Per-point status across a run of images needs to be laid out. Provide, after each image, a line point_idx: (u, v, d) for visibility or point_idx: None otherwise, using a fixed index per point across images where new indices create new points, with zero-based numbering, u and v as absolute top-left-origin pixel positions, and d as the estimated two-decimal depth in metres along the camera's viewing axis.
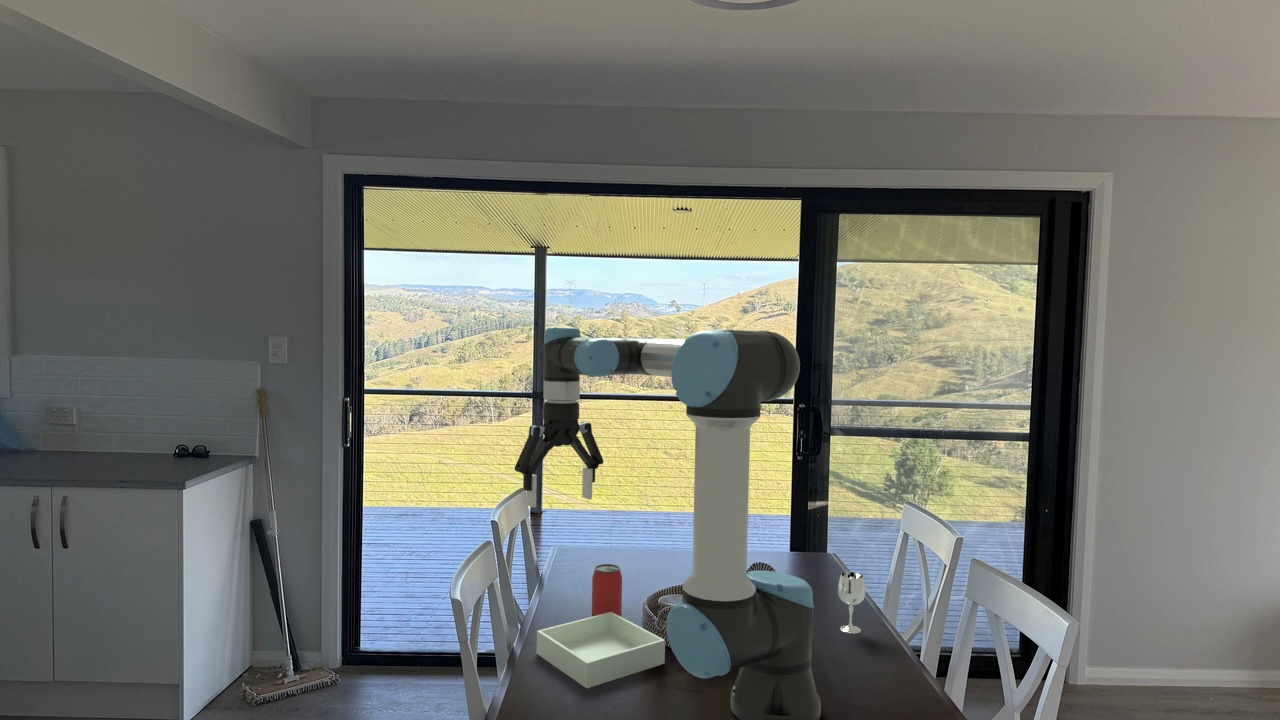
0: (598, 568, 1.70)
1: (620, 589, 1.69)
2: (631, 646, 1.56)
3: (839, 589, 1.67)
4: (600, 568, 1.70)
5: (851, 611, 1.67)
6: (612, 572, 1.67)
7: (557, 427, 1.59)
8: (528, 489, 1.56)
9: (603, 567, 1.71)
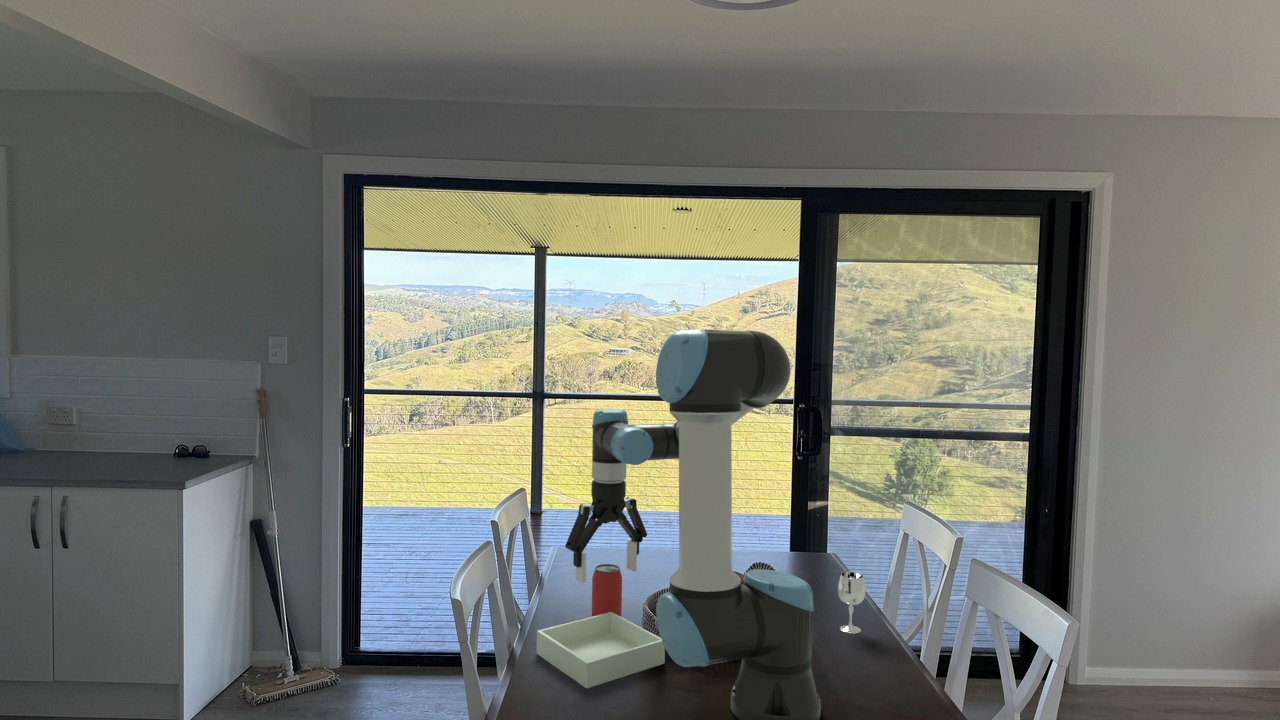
0: (598, 568, 1.70)
1: (620, 589, 1.69)
2: (631, 646, 1.56)
3: (839, 589, 1.67)
4: (600, 568, 1.70)
5: (851, 611, 1.67)
6: (612, 572, 1.67)
7: (605, 505, 1.67)
8: (578, 565, 1.65)
9: (603, 567, 1.71)
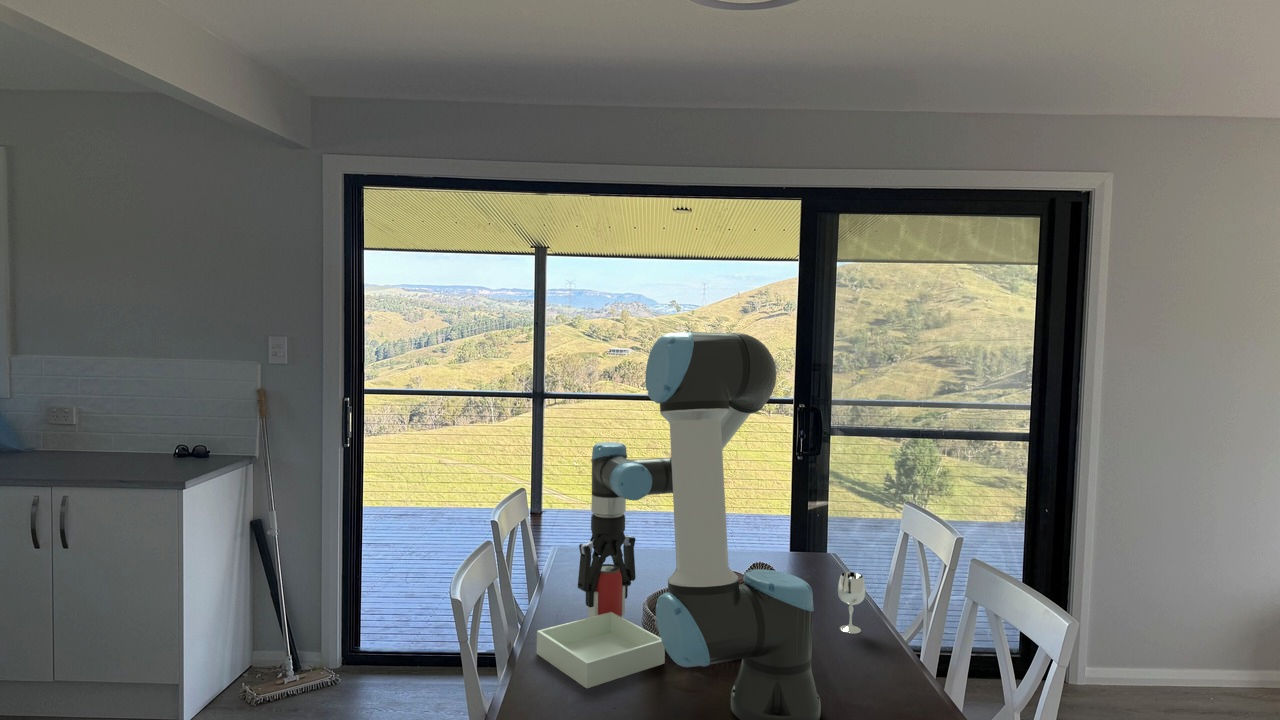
0: None
1: (620, 589, 1.69)
2: (631, 646, 1.56)
3: (839, 589, 1.67)
4: None
5: (851, 611, 1.67)
6: (612, 572, 1.67)
7: (604, 537, 1.67)
8: (590, 605, 1.67)
9: (603, 567, 1.71)
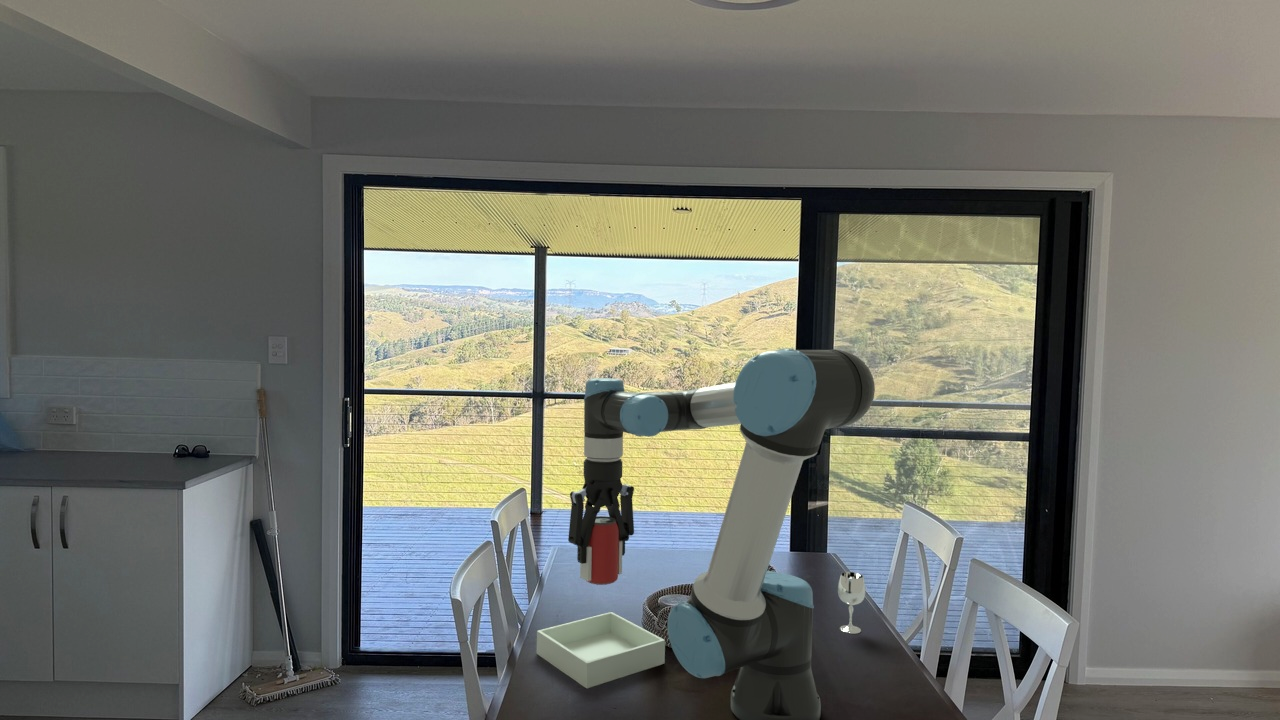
0: None
1: (617, 543, 1.49)
2: (631, 646, 1.56)
3: (839, 589, 1.67)
4: None
5: (851, 611, 1.67)
6: (607, 524, 1.47)
7: (598, 484, 1.48)
8: (583, 562, 1.47)
9: (597, 519, 1.51)
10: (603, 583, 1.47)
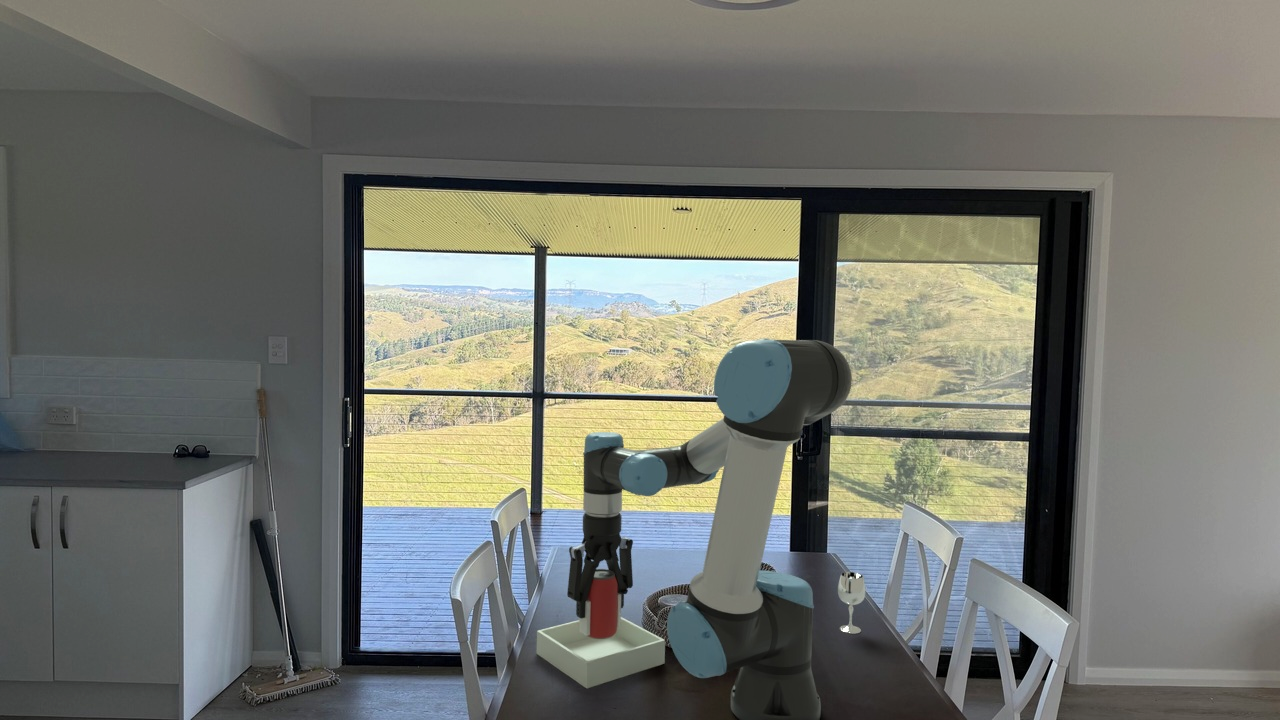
0: None
1: (615, 597, 1.49)
2: (631, 646, 1.56)
3: (839, 589, 1.67)
4: None
5: (851, 611, 1.67)
6: (606, 578, 1.48)
7: (597, 539, 1.48)
8: (582, 616, 1.47)
9: (596, 572, 1.51)
10: (602, 637, 1.48)
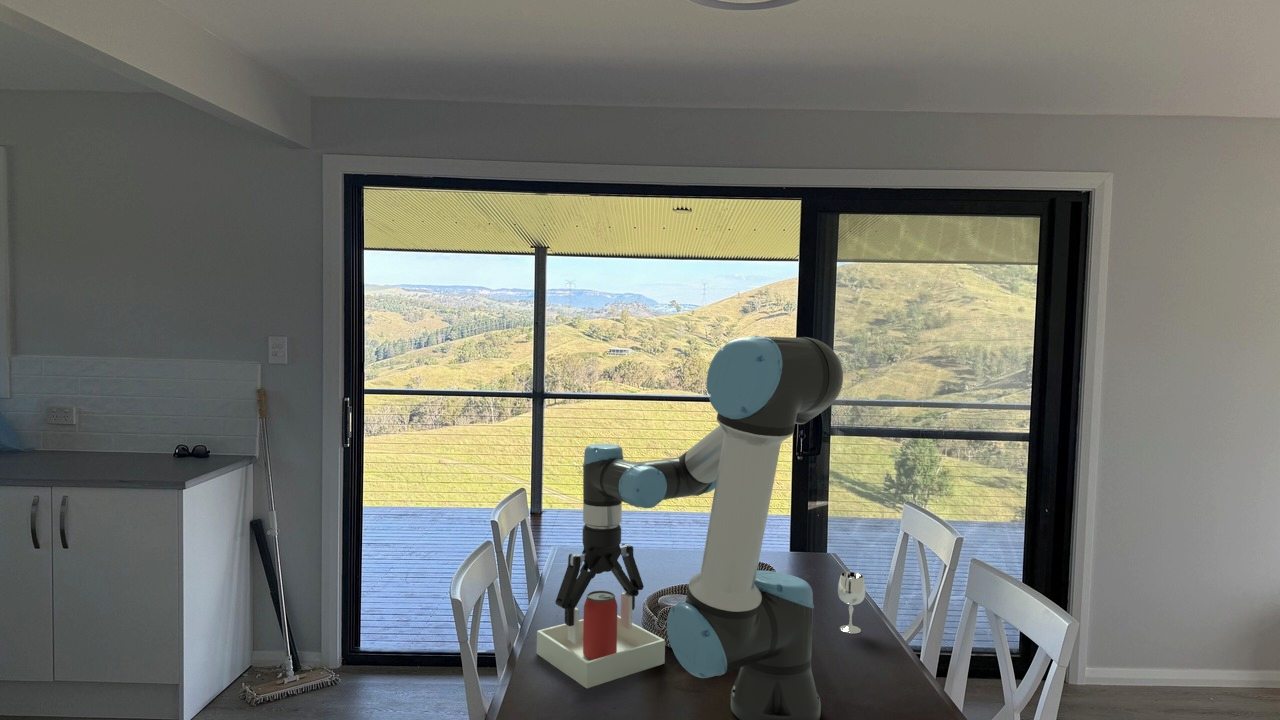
0: (590, 596, 1.51)
1: (615, 619, 1.50)
2: (631, 646, 1.56)
3: (839, 589, 1.67)
4: (593, 596, 1.51)
5: (851, 611, 1.67)
6: (606, 601, 1.48)
7: (598, 553, 1.48)
8: (570, 624, 1.46)
9: (596, 594, 1.52)
10: None
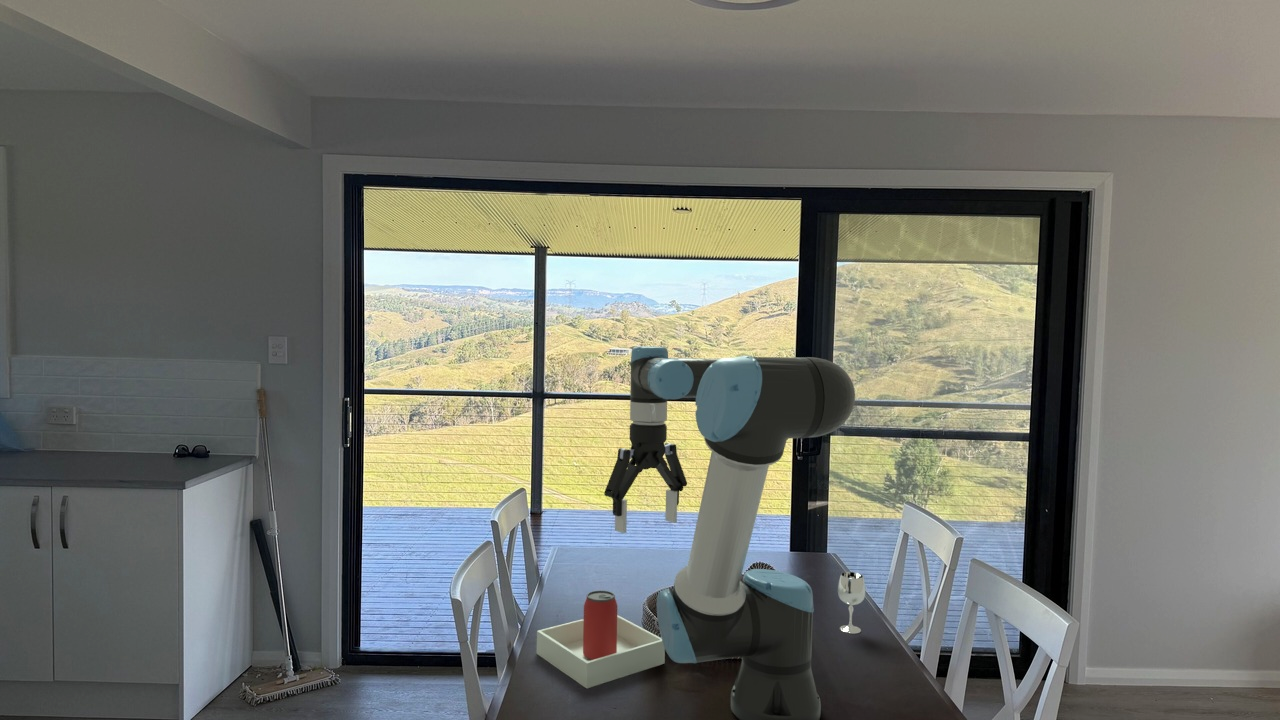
0: (590, 596, 1.51)
1: (615, 619, 1.50)
2: (631, 646, 1.56)
3: (839, 589, 1.67)
4: (593, 596, 1.51)
5: (851, 611, 1.67)
6: (606, 601, 1.48)
7: (645, 449, 1.55)
8: (618, 514, 1.51)
9: (596, 594, 1.52)
10: None
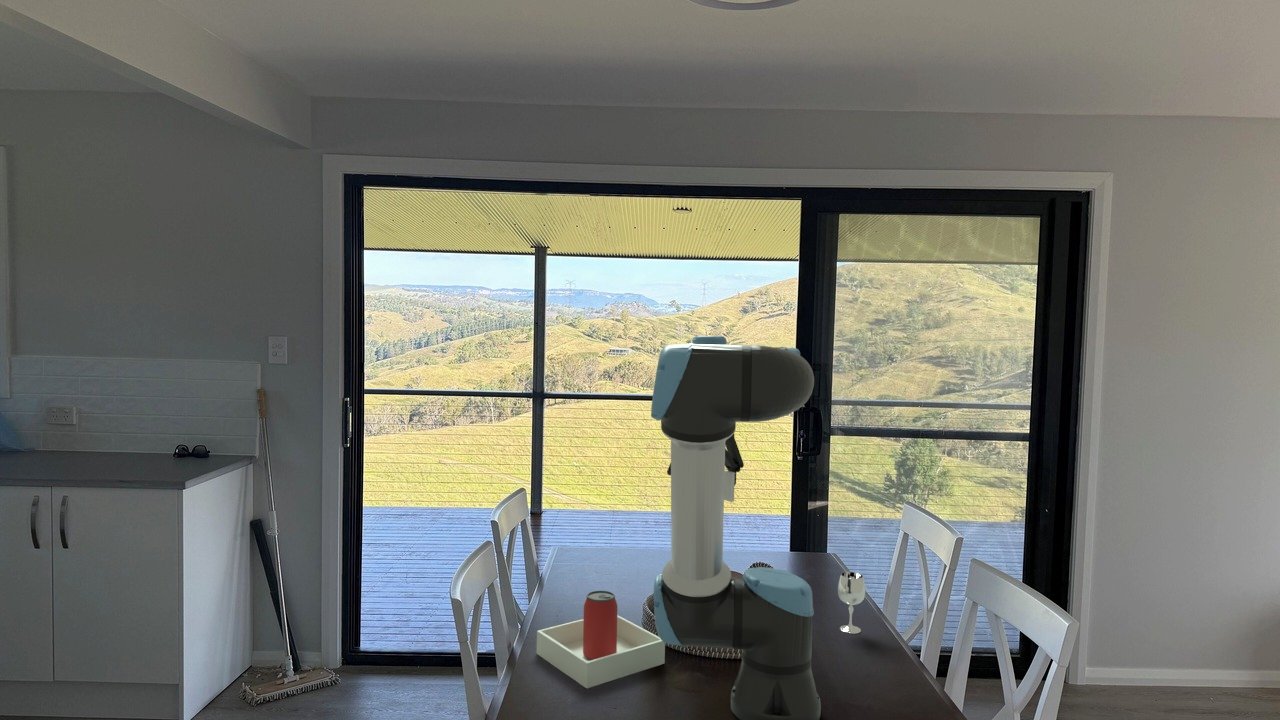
0: (590, 596, 1.51)
1: (615, 619, 1.50)
2: (631, 646, 1.56)
3: (839, 589, 1.67)
4: (593, 596, 1.51)
5: (851, 611, 1.67)
6: (606, 601, 1.48)
7: None
8: None
9: (596, 594, 1.52)
10: None
